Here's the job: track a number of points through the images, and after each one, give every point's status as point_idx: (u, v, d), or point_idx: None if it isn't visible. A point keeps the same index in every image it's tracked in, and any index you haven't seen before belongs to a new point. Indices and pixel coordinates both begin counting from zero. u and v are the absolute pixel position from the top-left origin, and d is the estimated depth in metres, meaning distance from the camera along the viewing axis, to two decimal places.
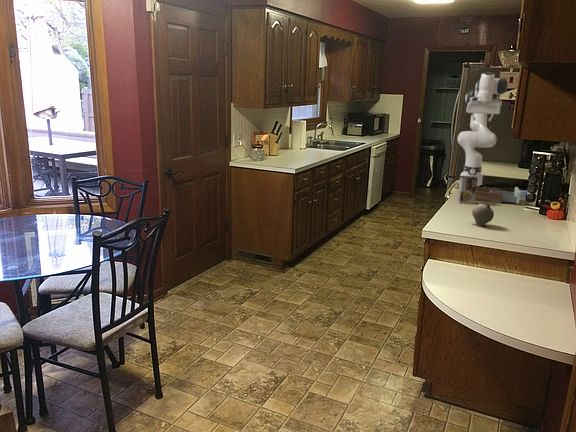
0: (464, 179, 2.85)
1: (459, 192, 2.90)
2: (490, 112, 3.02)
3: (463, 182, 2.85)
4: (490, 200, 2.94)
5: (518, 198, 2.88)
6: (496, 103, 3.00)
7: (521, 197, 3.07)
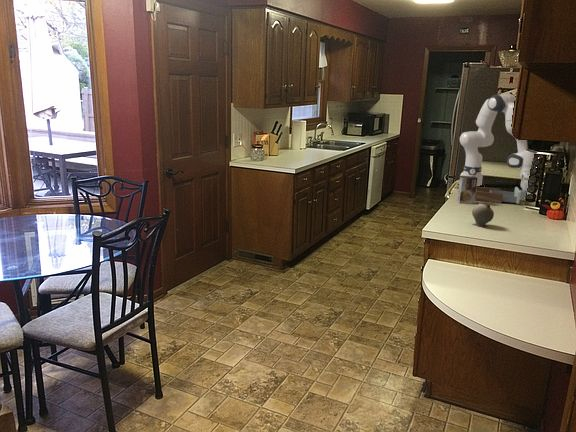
0: (464, 179, 2.85)
1: (459, 192, 2.90)
2: None
3: (463, 182, 2.85)
4: (490, 200, 2.94)
5: (518, 198, 2.88)
6: None
7: (521, 197, 3.07)
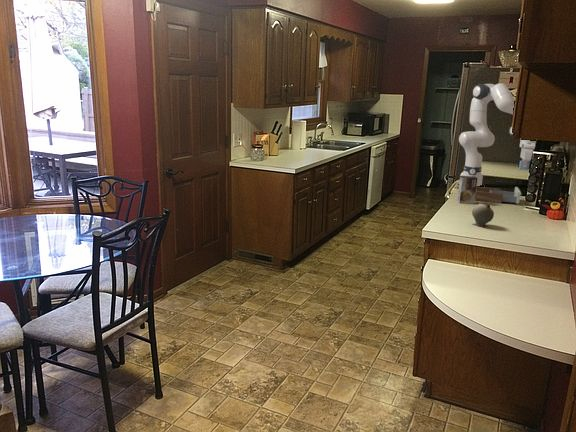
0: (464, 179, 2.85)
1: (459, 192, 2.90)
2: None
3: (463, 182, 2.85)
4: (490, 200, 2.94)
5: (518, 198, 2.88)
6: None
7: (521, 167, 3.00)
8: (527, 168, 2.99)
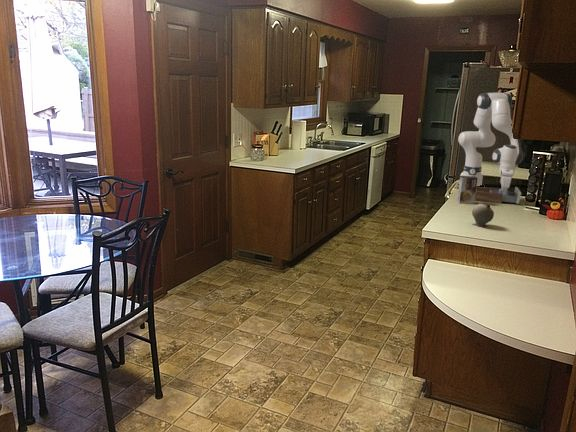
0: (464, 179, 2.85)
1: (459, 192, 2.90)
2: None
3: (463, 182, 2.85)
4: (490, 200, 2.94)
5: (518, 198, 2.88)
6: None
7: None
8: None
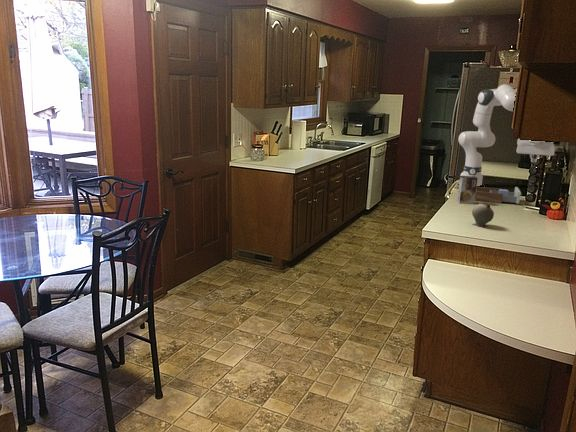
0: (464, 179, 2.85)
1: (459, 192, 2.90)
2: None
3: (463, 182, 2.85)
4: (490, 200, 2.94)
5: (518, 198, 2.88)
6: None
7: None
8: None
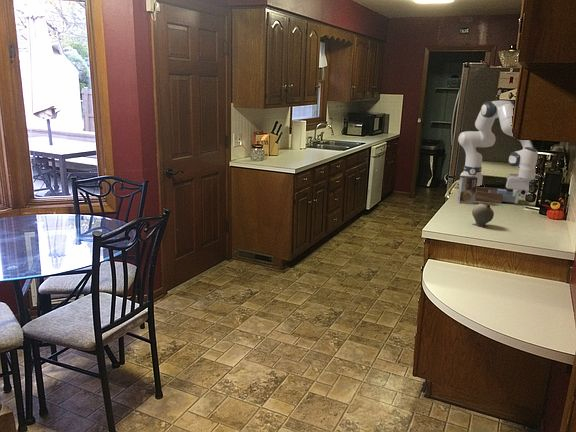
0: (464, 179, 2.85)
1: (459, 192, 2.90)
2: None
3: (463, 182, 2.85)
4: (490, 200, 2.94)
5: (517, 198, 2.89)
6: None
7: None
8: None
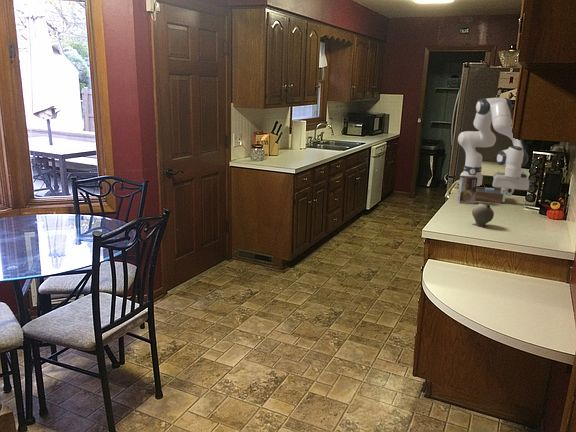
0: (464, 179, 2.85)
1: (459, 192, 2.90)
2: None
3: (463, 182, 2.85)
4: (490, 200, 2.94)
5: (504, 197, 2.91)
6: None
7: None
8: None
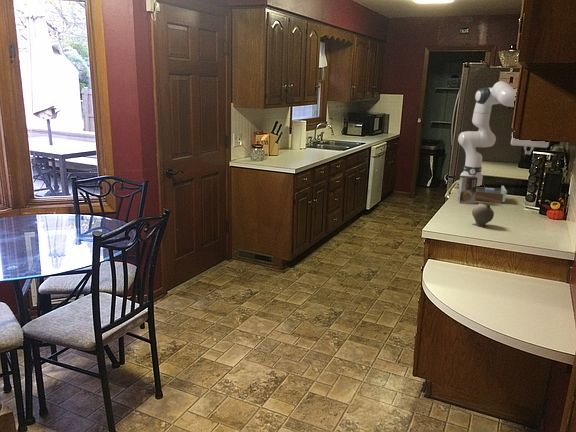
0: (464, 179, 2.85)
1: (459, 192, 2.90)
2: None
3: (463, 182, 2.85)
4: (490, 200, 2.94)
5: (504, 197, 2.91)
6: None
7: None
8: None
